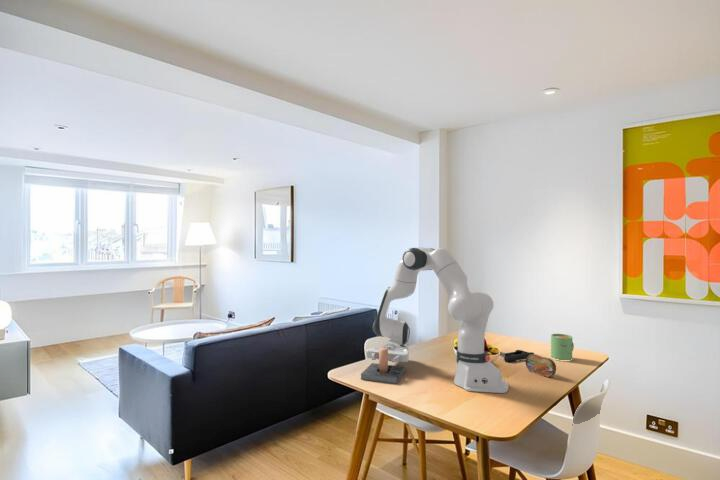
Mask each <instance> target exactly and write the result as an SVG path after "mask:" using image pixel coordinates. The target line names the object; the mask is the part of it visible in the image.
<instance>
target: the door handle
mask: <svg viewBox="0 0 720 480" xmlns="http://www.w3.org/2000/svg"><path fill="white" fill-rule="evenodd" d="M499 352H500V355H499V356H501V357H502V356H503V360H504V362H506V363H511V362H516V361H517V362H520V361H519V360H523V361H526V360H525V359H526V357H527V356H528V355H530V354H535V352H529V351H526V350H525V351H524V350H521V349H516V350H515V351H511V352H502V351H499Z"/></svg>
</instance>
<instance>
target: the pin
mask: <svg viewBox="0 0 720 480" xmlns="http://www.w3.org/2000/svg"><path fill="white" fill-rule="evenodd" d="M379 348H380V349H379V359H378V364H379V372H385V373H388V365H389V361H388V349H386V348H382V347H379Z"/></svg>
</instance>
